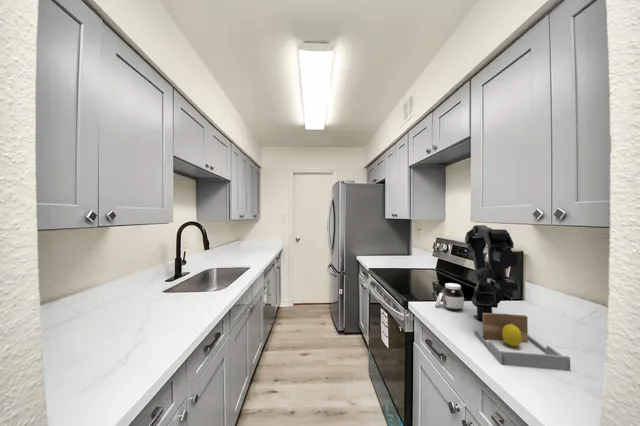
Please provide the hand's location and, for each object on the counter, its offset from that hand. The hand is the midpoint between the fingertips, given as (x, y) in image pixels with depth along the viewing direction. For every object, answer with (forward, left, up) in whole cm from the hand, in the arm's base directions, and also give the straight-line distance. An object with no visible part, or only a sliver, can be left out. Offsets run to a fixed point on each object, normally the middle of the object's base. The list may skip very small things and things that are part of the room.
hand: (497, 302), depth 101 cm
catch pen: (+12, 0, -12) cm, 17 cm away
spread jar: (-27, -10, -12) cm, 31 cm away
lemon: (+10, 0, -12) cm, 16 cm away
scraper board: (+5, 0, -12) cm, 13 cm away
